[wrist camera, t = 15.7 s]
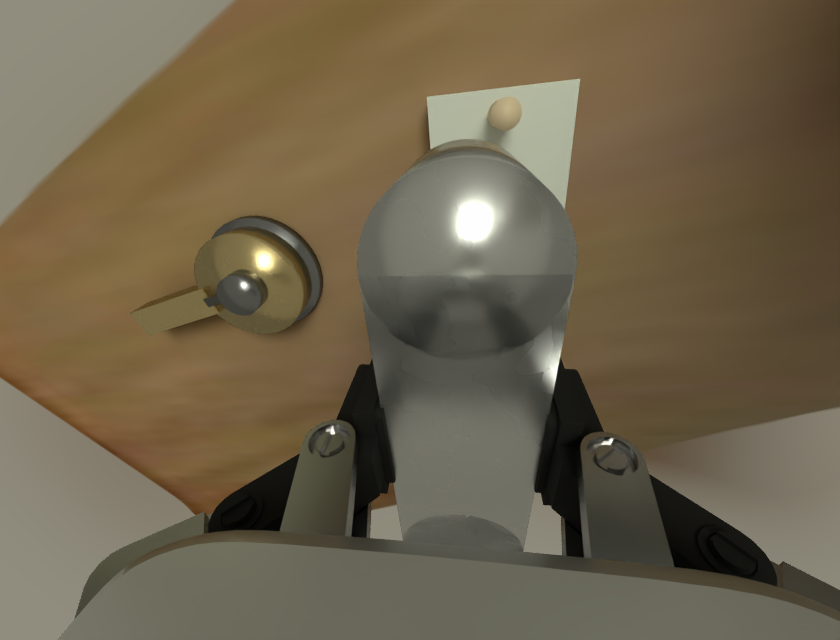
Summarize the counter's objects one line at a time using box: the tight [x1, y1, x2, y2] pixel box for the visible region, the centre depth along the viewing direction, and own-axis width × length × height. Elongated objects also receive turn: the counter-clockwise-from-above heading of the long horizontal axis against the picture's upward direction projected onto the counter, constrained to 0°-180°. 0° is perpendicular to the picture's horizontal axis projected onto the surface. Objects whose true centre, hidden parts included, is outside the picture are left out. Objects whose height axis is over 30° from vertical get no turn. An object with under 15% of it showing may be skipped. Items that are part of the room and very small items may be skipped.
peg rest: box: [427, 79, 580, 210], centre depth 23 cm, size 20×8×5 cm, turn 5°
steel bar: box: [357, 139, 577, 552], centre depth 11 cm, size 4×14×4 cm, turn 3°
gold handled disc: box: [129, 227, 312, 336], centre depth 26 cm, size 15×8×3 cm, turn 110°
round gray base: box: [211, 216, 323, 322], centre depth 27 cm, size 9×9×1 cm
